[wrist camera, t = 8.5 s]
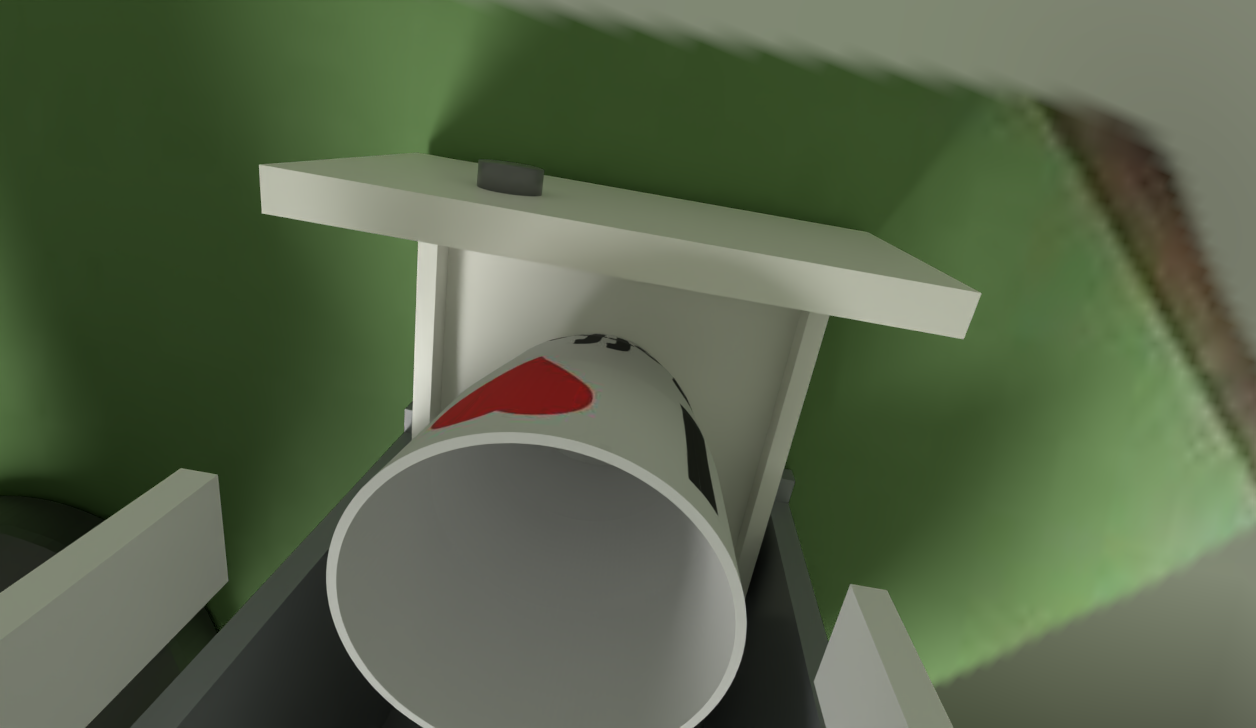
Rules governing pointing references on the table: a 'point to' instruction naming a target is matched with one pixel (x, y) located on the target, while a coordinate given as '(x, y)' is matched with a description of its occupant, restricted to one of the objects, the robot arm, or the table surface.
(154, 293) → the table surface
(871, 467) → the table surface
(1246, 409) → the table surface
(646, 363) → the cup
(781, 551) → the housing
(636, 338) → the white drawer
